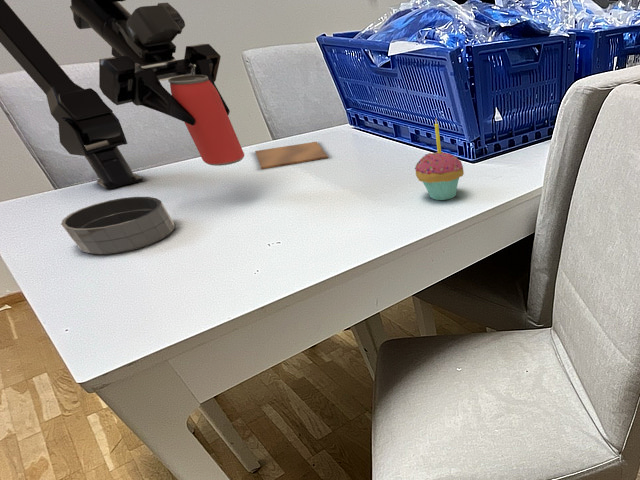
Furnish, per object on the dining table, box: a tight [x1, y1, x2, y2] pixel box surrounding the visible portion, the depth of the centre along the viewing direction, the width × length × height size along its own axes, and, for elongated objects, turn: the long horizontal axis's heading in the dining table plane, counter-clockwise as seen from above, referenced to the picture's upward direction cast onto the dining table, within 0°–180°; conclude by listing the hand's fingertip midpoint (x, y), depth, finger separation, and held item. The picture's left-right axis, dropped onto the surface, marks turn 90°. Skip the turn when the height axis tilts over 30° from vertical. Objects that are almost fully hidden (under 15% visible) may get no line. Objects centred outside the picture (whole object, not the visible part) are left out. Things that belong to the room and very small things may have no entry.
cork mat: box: [254, 141, 329, 170], centre depth 102 cm, size 14×14×1 cm
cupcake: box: [414, 117, 465, 201], centre depth 78 cm, size 9×8×12 cm
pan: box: [60, 196, 175, 255], centre depth 71 cm, size 13×13×4 cm
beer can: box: [167, 75, 245, 167], centre depth 74 cm, size 7×7×12 cm
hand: (212, 118), depth 73 cm, fingers closed on beer can, 6 cm apart
